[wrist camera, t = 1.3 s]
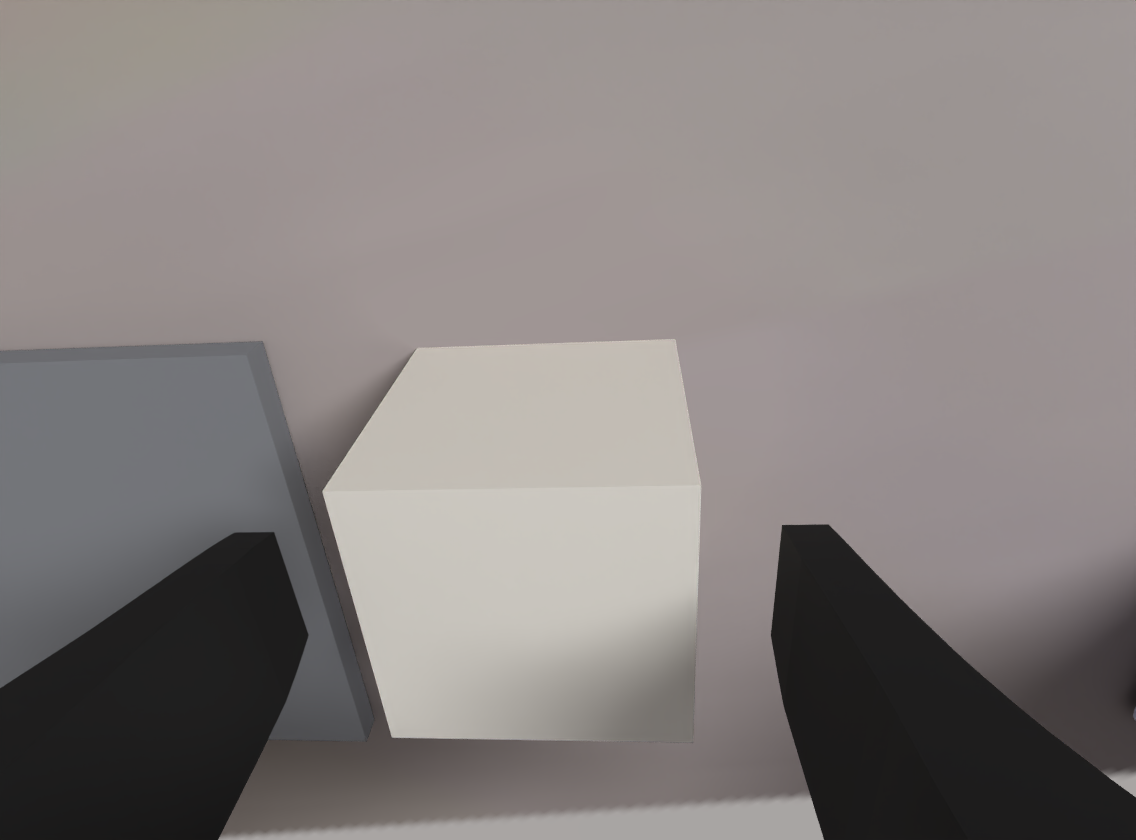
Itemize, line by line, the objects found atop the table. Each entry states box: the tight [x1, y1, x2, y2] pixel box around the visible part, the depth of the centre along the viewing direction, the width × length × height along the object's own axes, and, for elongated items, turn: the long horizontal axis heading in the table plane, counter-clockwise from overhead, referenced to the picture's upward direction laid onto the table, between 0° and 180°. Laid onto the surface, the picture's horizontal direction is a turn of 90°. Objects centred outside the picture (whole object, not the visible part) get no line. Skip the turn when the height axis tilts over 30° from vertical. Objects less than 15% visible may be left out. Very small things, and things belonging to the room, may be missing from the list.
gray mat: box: [0, 341, 374, 742], centre depth 15 cm, size 12×10×1 cm
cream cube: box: [322, 339, 701, 743], centre depth 11 cm, size 4×4×4 cm
